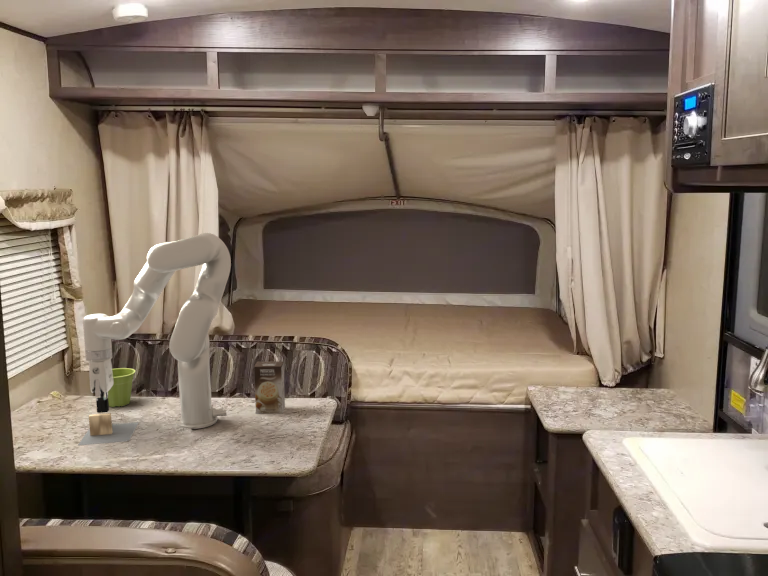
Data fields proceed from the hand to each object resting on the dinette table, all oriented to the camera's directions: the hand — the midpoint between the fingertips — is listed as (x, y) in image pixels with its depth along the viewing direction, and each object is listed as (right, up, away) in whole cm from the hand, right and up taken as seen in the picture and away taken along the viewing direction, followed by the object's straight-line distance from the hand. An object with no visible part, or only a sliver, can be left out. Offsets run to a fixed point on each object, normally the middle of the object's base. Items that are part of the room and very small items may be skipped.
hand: (103, 411), depth 205 cm
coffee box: (+50, -2, +13) cm, 52 cm away
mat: (+5, -6, -6) cm, 10 cm away
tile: (-1, -3, -8) cm, 8 cm away
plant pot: (-4, -2, +22) cm, 23 cm away
